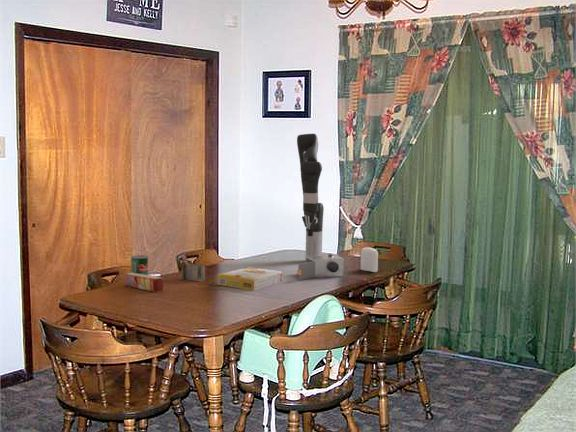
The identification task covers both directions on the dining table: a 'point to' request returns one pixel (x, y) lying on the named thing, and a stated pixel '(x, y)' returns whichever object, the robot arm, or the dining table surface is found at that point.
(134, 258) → the canned tomato
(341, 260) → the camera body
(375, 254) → the photo printer
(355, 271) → the dining table surface
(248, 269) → the cereal box
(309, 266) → the side door
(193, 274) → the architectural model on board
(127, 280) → the snack package
